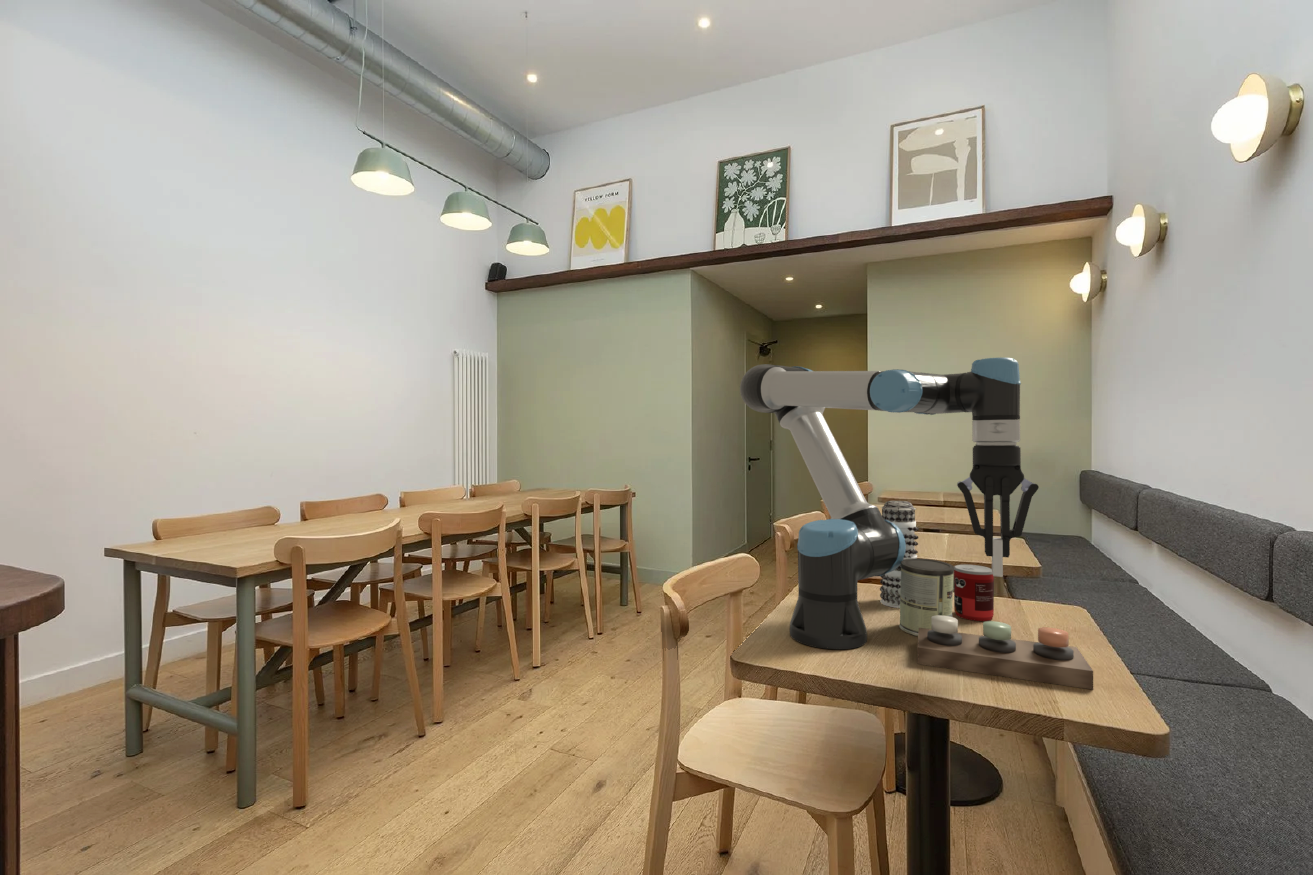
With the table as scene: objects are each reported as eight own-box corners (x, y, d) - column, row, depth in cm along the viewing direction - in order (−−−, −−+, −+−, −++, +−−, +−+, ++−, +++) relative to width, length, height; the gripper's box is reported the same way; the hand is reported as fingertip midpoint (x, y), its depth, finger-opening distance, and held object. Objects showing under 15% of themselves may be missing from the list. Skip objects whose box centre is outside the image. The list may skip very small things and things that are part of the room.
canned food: (957, 609, 140) (956, 562, 140) (995, 615, 135) (995, 567, 135) (951, 617, 133) (951, 568, 133) (991, 623, 129) (991, 573, 129)
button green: (984, 638, 105) (984, 626, 105) (982, 630, 109) (982, 619, 109) (1012, 641, 103) (1012, 630, 103) (1009, 633, 107) (1009, 622, 107)
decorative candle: (908, 598, 149) (908, 499, 149) (926, 608, 140) (925, 503, 140) (872, 598, 149) (872, 499, 149) (888, 609, 140) (887, 504, 140)
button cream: (931, 631, 109) (931, 620, 109) (931, 624, 113) (931, 614, 113) (958, 634, 107) (958, 623, 107) (957, 627, 111) (957, 617, 111)
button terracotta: (1040, 645, 101) (1040, 633, 101) (1036, 637, 105) (1036, 625, 105) (1071, 648, 100) (1071, 636, 100) (1065, 640, 104) (1065, 629, 104)
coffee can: (899, 618, 132) (901, 555, 131) (950, 625, 127) (953, 561, 127) (897, 633, 122) (900, 566, 122) (953, 642, 118) (956, 572, 117)
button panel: (917, 663, 106) (917, 641, 106) (918, 642, 117) (918, 622, 117) (1093, 689, 95) (1093, 664, 95) (1076, 663, 106) (1076, 640, 106)
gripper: (956, 444, 106) (957, 575, 106) (1042, 444, 100) (1043, 582, 100) (954, 444, 112) (955, 567, 112) (1034, 443, 107) (1036, 573, 107)
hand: (997, 574), depth 106 cm, fingers closed
